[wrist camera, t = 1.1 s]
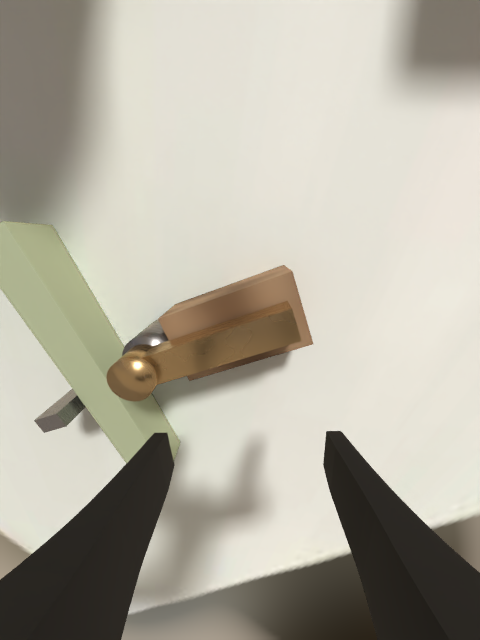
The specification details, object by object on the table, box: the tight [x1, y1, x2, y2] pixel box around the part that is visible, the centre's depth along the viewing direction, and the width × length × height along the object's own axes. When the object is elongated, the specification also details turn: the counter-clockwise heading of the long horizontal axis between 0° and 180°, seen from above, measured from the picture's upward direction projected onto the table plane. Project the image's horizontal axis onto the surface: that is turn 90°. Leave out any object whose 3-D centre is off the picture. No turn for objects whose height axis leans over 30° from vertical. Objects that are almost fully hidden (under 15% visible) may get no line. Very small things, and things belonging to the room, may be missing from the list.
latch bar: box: [106, 301, 302, 401], centre depth 13 cm, size 12×3×2 cm, turn 110°
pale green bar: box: [0, 221, 180, 464], centre depth 18 cm, size 3×22×3 cm, turn 20°
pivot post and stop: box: [34, 320, 169, 433], centre depth 17 cm, size 11×4×5 cm, turn 110°
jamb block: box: [158, 265, 313, 381], centre depth 16 cm, size 9×5×4 cm, turn 110°
